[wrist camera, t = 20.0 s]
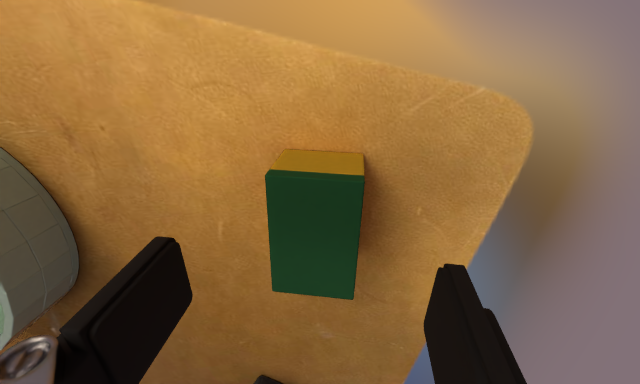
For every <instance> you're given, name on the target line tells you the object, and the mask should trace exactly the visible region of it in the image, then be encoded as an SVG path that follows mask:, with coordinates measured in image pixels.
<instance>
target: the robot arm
mask: <svg viewBox="0 0 640 384" xmlns="http://www.w3.org/2000/svg"><path fill="white" fill-rule="evenodd" d="M191 301H192V290H191V287H190V283H189V279H188V275H187V271H186V267H185V264H184V260H183V256H182V252H181V248H180V245H179V243H178V242H176V240H175V239H174V238H169V237H159V236H158V237H155V238H154V239H153V240H152V241H151V242H150V243H149V244H148V245H147V246H146V247H145V248H144V249H143V250H142V251H141V252H139V253H138V254H137V255H136V256H135V257H134V258H133V259H132V260H131V261H130V262H129V263H128V264H127V265H126V266H125V267H124V268H123V269H122V270H121V271H120V272H119V273H118V274H117V275H116V276H115V277H114V278H113V279H112V280H110V281H109V282H108V283H107V284H106V285H105V286H104V287H103V288H102V289H101V290H100V291H99V292H98V293H97V294H96V295H95V296H94V297H93V298H92V299H91V300H90V301H89V302H88V303H87V304H86V305H85V306H84V307H83V308H82V309H80V310H79V311H78V312H77V313H76V314H75V315H74V316H73V317H72V318H71V319H70V320H69V321H68V322H67V323H66V324H65V325H64V326H63V327H62V328H61V329H60V332H61V334H60V335H59V336H58V337H57V338H55V337H54V336H51V335H38V336H34V337H31V338H28V339H25V340H23V341H21V342H19V343H17V344H15V345H14V346H12V347H10V348H9V349H7V350H6V351H5V352H4V353H2V354H1V355H0V384H139V382H140V381H141V379H142V378H143V376H144V375H145V373H146V371H147V370H148V368H149V367H150V365H151V364H152V362H153V361H154V359H155V358H156V356H157V354H158V353H159V351H160V350H161V348H162V347H163V345H164V344H165V342H166V341H167V339H168V337H169V336H170V334H171V333H172V331H173V330H174V328H175V327H176V325H177V323H178V322H179V320H180V319H181V317H182V316H183V314H184V313H185V311H186V310H187V308H188V306H189V305H190V303H191ZM424 333H425V337H426V342H427V347H428V352H429V357H430V362H431V366H432V371H433V376H434V381H435V384H527V383H526V381H525V379H524V377H523V375H522V373H521V370H520V368H519V366H518V364H517V362H516V360H515V358H514V356H513V353H512V351H511V349H510V347H509V345H508V343H507V341H506V339H505V337H504V334H503V332H502V330H501V328H500V326H499V324H498V322H497V320H496V318H495V315H494V314H493V312H492V311H491V310H490V309H486V308H483V307H482V304H481V302H480V300H479V298H478V295H477V293H476V291H475V288H474V286H473V284H472V282H471V279H470V277H469V275H468V273H467V270H466V268H465V266H463V265H455V264H445V265H444V267H443V268H441V267H439V268H438V270H437V274H436V278H435V282H434V285H433V289H432V293H431V297H430V301H429V304H428V308H427V312H426V316H425V320H424Z"/></svg>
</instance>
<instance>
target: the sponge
mask: <svg viewBox="0 0 640 384" xmlns="http://www.w3.org/2000/svg"><path fill="white" fill-rule="evenodd" d="M265 182H266V198H267V214H268V230H269V245H270V261H271V277H272V291H275V292H284V293H293V294H303V295H312V296H322V297H331V298H340V299H350V300H353V299H354V289H355V279H356V268H357V258H358V248H359V237H360V227H361V217H362V207H363V196H364V186H365V177H364V155H363V154H360V153H343V152H326V151H309V150H292V149H285V150H284V151H283V152H282V154H281V155H280V156H279V158H278V159H277V160H276V162H275V163H274V164H273V166H272V167H271V168H270V170H269V171H268V172H267V174H266V175H265Z"/></svg>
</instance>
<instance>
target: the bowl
mask: <svg viewBox="0 0 640 384" xmlns="http://www.w3.org/2000/svg"><path fill="white" fill-rule="evenodd" d="M78 270H79V256H78V251H77V246H76V242H75V239H74V236H73V233H72V231H71V229H70V227H69V225H68V223H67V221H66V219H65V217H64V215H63V214H62V212H61V210H60V209H59V207H58V205H57V204H56V203H55V201H54V200H53V199H52V197H51V196H50V195H49V193H48V192H47V191H46V190H45V188H44V187H43V186H42V185H41V184H40V183H39V182H38V181H37V179H36V178H35V177H34V176H33V175H32V174H31V173H30V172H29V171H28V170H27V169H26V168H24V167H23V166H22V165H21V164H20V163H19V162H18V161H17V160H15V159H14V158H13V157H12V156H11V155H9V154H8V153H7V152H6V151H5V150H3V149H2V148H0V350H2V349H3V348H4V347H6V346H7V345H8V344H9V343H10V342H12V341H13V340H14V339H15V338H16V337H18V336H19V335H20V334H21V333H22V332H24V331H25V330H26V329H27V328H28V327H30V326H31V325H32V324H33V323H34V322H36V321H37V320H38V319H39V318H40V317H41V316H43V315H44V314H45V313H46V312H47V311H49V310H50V309H51V308H52V307H53V306H55V305H56V304H57V303H58V302H59V301H60V300H61V299H62V298H63V297H64V296H65V295H66V294H67V293H68V292H69V291H70V290H71V288H72V287H73V286H74V284H75V281H76V279H77V276H78Z"/></svg>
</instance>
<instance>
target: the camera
mask: <svg viewBox="0 0 640 384" xmlns="http://www.w3.org/2000/svg"><path fill="white" fill-rule="evenodd" d="M254 384H281V383H279V382H277V381H274V380H272V379H270V378H267V377H265V376H259V378H258V379H257V380H256V381H255V383H254Z"/></svg>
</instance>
